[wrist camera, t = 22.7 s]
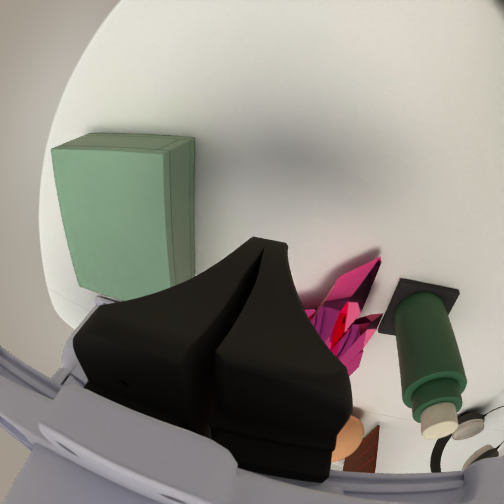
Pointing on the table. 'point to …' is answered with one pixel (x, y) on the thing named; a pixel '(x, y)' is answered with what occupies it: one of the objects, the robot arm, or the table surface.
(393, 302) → the coaster
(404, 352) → the bottle
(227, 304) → the robot arm
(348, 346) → the crystal
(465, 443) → the table surface
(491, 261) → the table surface
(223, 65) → the table surface
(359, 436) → the egg
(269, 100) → the table surface
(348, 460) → the roof
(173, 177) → the green open box
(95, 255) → the lid
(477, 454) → the headphones
